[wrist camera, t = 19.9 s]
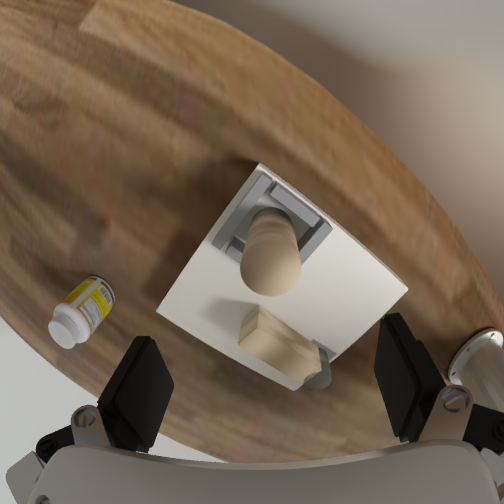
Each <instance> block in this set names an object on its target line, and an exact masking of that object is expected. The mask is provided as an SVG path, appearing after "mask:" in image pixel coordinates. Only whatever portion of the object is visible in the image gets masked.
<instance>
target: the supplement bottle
mask: <svg viewBox="0 0 504 504" xmlns="http://www.w3.org/2000/svg"><path fill="white" fill-rule="evenodd" d="M114 303H115V296H114V293H113V290H112V289H111V287H110V286H109V284H108V283H107V282H105V281H104V280H103V279H101V278H99V277H94V276H93V277H88V278H86V279H85V280H84V281H83V282H82V283H81V284H80V285H78V286H77V287H76V288H75V289H74V290H73V291H72V292H71V293H70V294H69V295H68V296H67V297H65V298H64V299H63V300H62V301H61V302H60V303H59V304H58V305H57V306H56V307H55V309H54V313H53V317H54V318H53V319H52V320H51V321H50V322H49V325H48V329H49V332H50V335H51V336H52V338H53V339H54V341H55V342H56V343H57V344H59V345H60V346H61V347H63V348H66V349H71V348H73V347H74V345H75V344H76V343H83V342H85V341H86V340H87V339H88V338H89V337H90V336H91V334H92V333H93V332H94V331H95V329H96V328H97V327H98V325H99V324H100V323H101V322H102V321H103V319H104V318H105V317H106V316H107V314H108V313H109V312H110V311H111V309H112V308H113V306H114Z"/></svg>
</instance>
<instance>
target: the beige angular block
mask: <svg viewBox="0 0 504 504" xmlns="http://www.w3.org/2000/svg"><path fill="white" fill-rule="evenodd" d="M238 346H240V347H242V348H243V349H245V350H246V351H248V352H249V353H251V354H252V355H254V356H256V357H257V358H259V359H260V360H262V361H264V362H265V363H267V364H268V365H270V366H272V367H273V368H275V369H277V370H278V371H280V372H282V373H283V374H285V375H287V376H288V377H290V378H292V379H293V380H295V381H297V382H299V383H300V384H303V383H304V386H305V387H306V388H308V389H310V390H320V389H323V388H326V387H327V386H328V385H330V383H331V381H332V376H331V371H330V366H329V361H328V356H327V353H326V351H325V350H323V349H321V348H318V346H316V345H315V344H313V343H312V342H311V341H309V340H308V339H306V338H305V337H303V336H302V335H301V334H299V333H298V332H296V331H295V330H294V329H292V328H291V327H289V326H288V325H287V324H285V323H284V322H282V321H281V320H280V319H278V318H277V317H275V316H274V315H273V314H271V313H270V312H268V311H267V310H266V309H264V308H263V307H262V306H260V305H259V306H258V307H257V308H256V309H255V310H254V311H253V312H252V313H251V314H249V315H248V316H247V317H246V318H245V319H244V320H243V321H242V324H241V329H240V335H239V341H238Z"/></svg>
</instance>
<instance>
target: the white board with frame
mask: <svg viewBox="0 0 504 504" xmlns="http://www.w3.org/2000/svg"><path fill="white" fill-rule="evenodd" d="M267 207H276V208H279V209H282V210H283V211H285V212H286V213H287V214H288V215H289V216H290V218H291V220H292V223H293V228H294V232H295V237H296V241H297V246H298V251H299V256H300V260H301V266H302V271H301V276H300V279H299V281H298V283H297V284H296V285H295V286H294V287H293V288H292V289H291V290H290V291H288V292H287V293H285V294H282V295H279V296H263V295H260V294H257V293H255V292H253V291H252V290H251V289H249V288H248V287H247V286H246V284H245V283H244V281H243V280H242V277H241V274H240V263H241V259H242V255H243V251H244V248H245V244H246V240H247V236H248V232H249V228H250V224H251V221H252V219H253V217H254V215H255V214H256V213H257V212H258V211H260V210H262V209H264V208H267ZM407 290H408V288H407V287H406V285H405V284H404V283H403V282H402V280H401V279H400V278H399V277H398V276H397V275H396V274H395V273H394V272H393V271H392V270H391V269H390V268H389V267H387V266H386V265H385V264H384V263H383V262H382V261H381V260H380V259H379V258H378V257H376V256H375V255H374V254H373V253H372V252H371V251H370V250H369V249H367V248H366V247H365V246H364V245H363V244H362V243H361V242H359V241H358V240H357V239H356V238H355V237H354V236H352V235H351V234H350V233H349V232H348V231H347V230H345V229H344V228H343V227H342V226H341V225H339V224H338V223H337V222H336V221H335V220H333V219H332V218H331V217H330V216H329V215H327V214H326V213H325V212H324V211H323V210H321V209H320V208H319V207H318V206H316V205H315V204H314V203H313V202H311V201H310V200H309V199H308V198H306V197H305V196H304V195H302V194H301V193H300V192H299V191H297V190H296V189H295V188H293V187H292V186H291V185H289V184H288V183H287V182H286V181H284V180H283V179H282V178H280V177H279V176H278V175H276V174H275V173H274V172H272V171H271V170H269V169H268V168H267V167H265V166H264V165H263V164H261V163H259V164H258V166H257V167H256V168H255V170H254V171H253V172H252V174H251V175H250V176H249V178H248V179H247V180H246V182H245V183H244V184H243V186H242V187H241V188H240V190H239V191H238V192H237V194H236V195H235V197H234V198H233V199H232V201H231V202H230V203H229V205H228V206H227V208H226V209H225V210H224V212H223V213H222V215H221V216H220V217H219V219H218V220H217V222H216V223H215V224H214V226H213V227H212V229H211V230H210V231H209V233H208V234H207V236H206V237H205V239H204V240H203V241H202V243H201V244H200V246H199V247H198V249H197V250H196V252H195V253H194V254H193V256H192V257H191V259H190V260H189V262H188V263H187V265H186V266H185V268H184V269H183V271H182V272H181V274H180V275H179V277H178V278H177V280H176V281H175V283H174V284H173V286H172V287H171V289H170V290H169V292H168V293H167V295H166V296H165V298H164V299H163V301H162V303H161V304H160V306H159V307H158V309H157V310H156V312H158V313H159V314H161V315H162V316H164V317H165V318H167V319H168V320H170V321H171V322H173V323H174V324H176V325H178V326H179V327H181V328H182V329H184V330H185V331H187V332H189V333H190V334H192V335H193V336H195V337H197V338H198V339H200V340H201V341H203V342H205V343H206V344H208V345H210V346H211V347H213V348H215V349H216V350H218V351H220V352H222V353H223V354H225V355H227V356H229V357H230V358H232V359H234V360H236V361H237V362H239V363H241V364H243V365H245V366H246V367H248V368H250V369H252V370H254V371H256V372H258V373H260V374H261V375H263V376H265V377H267V378H269V379H271V380H273V381H275V382H277V383H279V384H281V385H283V386H285V387H287V388H289V389H291V390H293V391H295V390H296V389H298V388H299V387H300V386H302V385H303V384H304V383H303V384H300V383H299V382H297V381H295V380H293V379H292V378H290V377H288V376H287V375H285V374H283V373H282V372H280V371H278V370H277V369H275V368H273V367H272V366H270V365H268V364H267V363H265V362H264V361H262V360H260V359H259V358H257V357H256V356H254V355H252V354H251V353H249V352H248V351H246V350H245V349H243V348H242V347H240V346H238V341H239V335H240V329H241V324H242V321H243V320H244V319H245V318H246V317H247V316H248V315H249V314H251V313H252V312H253V311H254V310H255V309H256V308H257V307H258V306H259V305H260V306H262V307H263V308H264V309H266V310H267V311H268V312H270V313H271V314H273V315H274V316H275V317H277V318H278V319H280V320H281V321H282V322H284V323H285V324H287V325H288V326H289V327H291V328H292V329H294V330H295V331H296V332H298V333H299V334H301V335H302V336H303V337H305V338H306V339H308V340H309V341H311V342H312V343H313V344H315V345H316V346H318V348H321V349H323V350H325V351H326V353H327V356H328V361H329V364H330V363H331V362H332V361H333V360H334V359H336V358H337V357H338V356H339V355H340V354H341V353H343V352H344V351H345V350H346V349H347V348H348V347H350V346H351V345H352V344H353V343H354V342H355V341H356V340H357V339H359V338H360V337H361V336H362V335H363V334H364V333H365V332H366V331H367V330H368V329H369V328H370V327H371V326H373V325H374V324H375V323H376V322H377V321H378V320H379V319H380V318H381V317H382V316H383V315H384V314H385V313H386V312H387V311H388V310H389V309H390V308H391V307H392V306H393V305H394V304H395V303H396V302H397V301H398V300H399V299H400V298H401V297H402V296H403V295H404V293H405V292H406V291H407Z"/></svg>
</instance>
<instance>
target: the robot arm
mask: <svg viewBox="0 0 504 504" xmlns="http://www.w3.org/2000/svg"><path fill="white" fill-rule="evenodd" d="M502 344H503V336H502V334H501V333H500V331H499V330H497V329H495V328H489V329H486V330H483V331H481V332H479V333H478V334H476V335H475V336H473V337H472V338H471V339H470V340H468V341H467V342H466V343H465V344H464V345H463V346H462V348H461V349H460V350H459V351H458V352H457V354H456V355H455V357H454V358H453V360H452V362H451V364H450V366H449V370H448V377H449V379H450V381H451V383H453V384H454V385H449V386H446V384H445V382H444V380H443V378H442V376H441V375H440V373H439V371H438V369H437V367H436V365H435V364H434V362H433V360H432V358H431V357H430V355H429V353H428V351H427V350H426V348H425V346H424V345H423V343H422V342H421V341H420V340H418V341H416V339H415V338H414V336H413V334H412V333H411V331H410V329H409V328H408V326H407V324H406V323H405V321H404V319H403V318H402V316H401V314H400V313H393V314H387V315H385V317H384V319H381V321H380V329H379V337H378V345H377V352H376V358H375V365H374V372H375V376H376V379H377V382H378V385H379V388H380V391H381V394H382V397H383V400H384V403H385V406H386V409H387V413H388V416H389V419H390V422H391V426H392V429H393V433H394V435H395V437H398V436H399V439H400V442H401V443H402V442H405V441H409V443H407V444H403V445H398V446H393V447H389V448H384V449H380V450H375V451H370V452H365V453H359V454H354V455H348V456H341V457H335V458H327V459H319V460H310V461H299V462H284V463H219V462H205V461H193V460H183V459H176V458H168V457H162V456H156V455H150V454H144V453H148V451H149V448H151V447H152V446H153V445H154V442H155V439H156V436H157V434H158V431H159V428H160V425H161V422H162V419H163V417H164V414H165V411H166V408H167V406H168V403H169V400H170V397H171V395H172V392H173V389H174V382H173V380H172V378H171V376H170V374H169V371H168V369H167V367H166V365H165V363H164V360H163V358H162V356H161V354H160V351H159V349H158V347H157V345H156V342H155V340H153V339H151V337H150V336H137V337H136V338H135V339H134V341H133V342H132V344H131V345H130V347H129V349H128V350H127V352H126V354H125V355H124V357H123V359H122V360H121V362H120V364H119V365H118V367H117V369H116V370H115V372H114V374H113V375H112V377H111V379H110V380H109V382H108V384H107V386H106V387H105V389H104V391H103V392H102V394H101V396H100V398H99V400H98V401H97V403H98V406H97V407H95V406H93V405H85V406H81V407H80V408H78V409H77V410H76V411H75V412H74V413H73V415H72V417H71V425H69V426H67V427H64V428H62V429H60V430H58V431H55V432H53V433H51V434H48V435H46V436H44V437H42V438H41V439H40V440H39V441H38V443H37V446H36V452H34V451H32V452H30V453H29V454H28V455H26V456H25V457H24V458H22V459H21V460H20V461H18V462H17V463H16V464H14V465H13V466H12V467H10V468H9V469H8V471H7V473H6V481H7V483H8V486H9V488H10V490H11V492H12V494H13V496H14V498H15V500H16V502H17V504H504V350H503V349H502ZM461 385H463V386H461ZM136 451H138V452H136ZM139 452H144V453H139Z"/></svg>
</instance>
